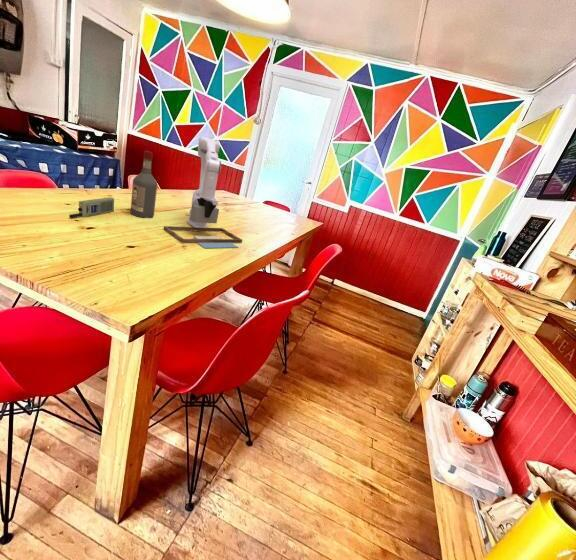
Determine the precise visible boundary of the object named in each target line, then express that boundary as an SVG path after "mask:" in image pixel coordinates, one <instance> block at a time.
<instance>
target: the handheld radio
mask: <svg viewBox="0 0 576 560" xmlns="http://www.w3.org/2000/svg"><path fill="white" fill-rule="evenodd" d="M114 209H115V198H114V197H111V196H110V197H104V198H95V199H94V198H93V199H86V200H78V209H77V211H78V213H74V214H73V213H72V214H69V215H68V217H69V218H70V219H73V218H78V217H80V218H89V217H93V216H98V215H99V216H100V215H105V214H109V213H110V214H111V213H114V212H115V210H114Z"/></svg>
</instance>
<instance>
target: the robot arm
mask: <svg viewBox="0 0 576 560" xmlns="http://www.w3.org/2000/svg"><path fill="white" fill-rule="evenodd" d="M197 145H198V146H197V155H198V156H199V157H200V159H201V161H200V162H201V166H200V175H199V176H200V177H199V185H198V186H199V187H198V189H196V190H194V192H193V194H192V198H191V206H192V205H201V206H205V218H209V217H210V215H211V213H212V211H213V210H214V208H215V207H216V208H217V206H219V205H218V204H219V201H218V200H217V199H216V198H215V196H216V189H217V183H218V177H219V174H220V173H221V170H222V161H221V160H219V153H220V152H219V151H220V148H221V147H220V146H221V143H220V140H217V139H216V140H215V139H212V138H208V137H206V136H202V135H201V136H200V137H199V138H198V144H197ZM191 209H192V207H191V208H190V210H189V214H188V216H189V217H188V220H186V223H187V224H188V225H190V226H191V227H203V228H210V227H209V226H207V223H197V222H193V221H191V220H190V215H191Z"/></svg>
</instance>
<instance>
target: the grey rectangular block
mask: <svg viewBox="0 0 576 560" xmlns="http://www.w3.org/2000/svg"><path fill="white" fill-rule="evenodd" d="M191 208H192V209H191ZM191 208H190V210H191V215H190V220H191V221H193V222H197V223H206V224H217V222H218V218H219V212H220V209H219V208H218V207H217V206H216V207H215V208H214V210H213V211H212V213H211V215H210V217H209V218H205V206H201V205H192V204H191Z"/></svg>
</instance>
